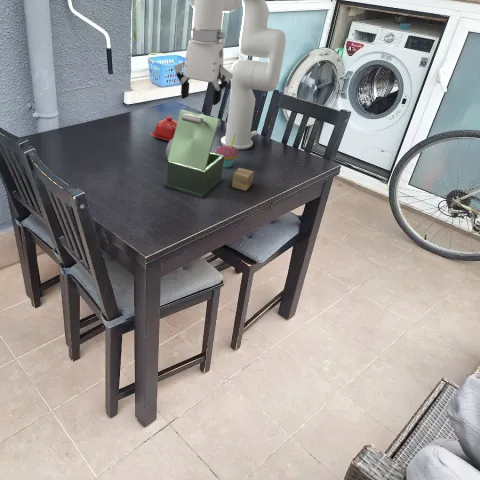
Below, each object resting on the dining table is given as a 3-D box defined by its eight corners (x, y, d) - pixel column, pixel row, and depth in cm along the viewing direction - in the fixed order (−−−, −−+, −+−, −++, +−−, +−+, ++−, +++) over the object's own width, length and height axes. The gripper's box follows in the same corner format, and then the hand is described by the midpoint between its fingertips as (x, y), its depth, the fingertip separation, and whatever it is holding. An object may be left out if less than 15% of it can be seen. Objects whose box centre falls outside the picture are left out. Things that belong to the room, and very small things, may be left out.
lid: (181, 110, 137) (174, 106, 131) (219, 118, 131) (213, 115, 126) (168, 160, 140) (160, 158, 134) (205, 170, 134) (198, 169, 129)
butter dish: (187, 136, 182) (189, 115, 177) (173, 144, 174) (174, 123, 169) (163, 129, 187) (164, 109, 182) (148, 138, 179) (149, 117, 174)
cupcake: (239, 162, 163) (243, 130, 156) (234, 171, 156) (239, 139, 149) (216, 158, 165) (219, 127, 158) (210, 167, 158) (214, 135, 151)
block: (237, 181, 150) (239, 167, 147) (251, 185, 148) (253, 171, 145) (231, 186, 146) (233, 173, 143) (245, 191, 144) (248, 177, 141)
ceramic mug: (185, 167, 157) (186, 147, 153) (164, 162, 160) (165, 141, 156) (197, 157, 165) (199, 138, 161) (178, 152, 168) (179, 133, 164)
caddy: (187, 170, 155) (189, 146, 150) (221, 180, 150) (224, 155, 145) (166, 186, 145) (167, 161, 140) (201, 197, 139) (204, 171, 134)
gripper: (241, 37, 116) (233, 103, 126) (183, 29, 123) (179, 92, 133) (231, 41, 111) (223, 109, 121) (170, 33, 118) (167, 98, 127)
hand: (200, 100), depth 127 cm, fingers open, 9 cm apart
